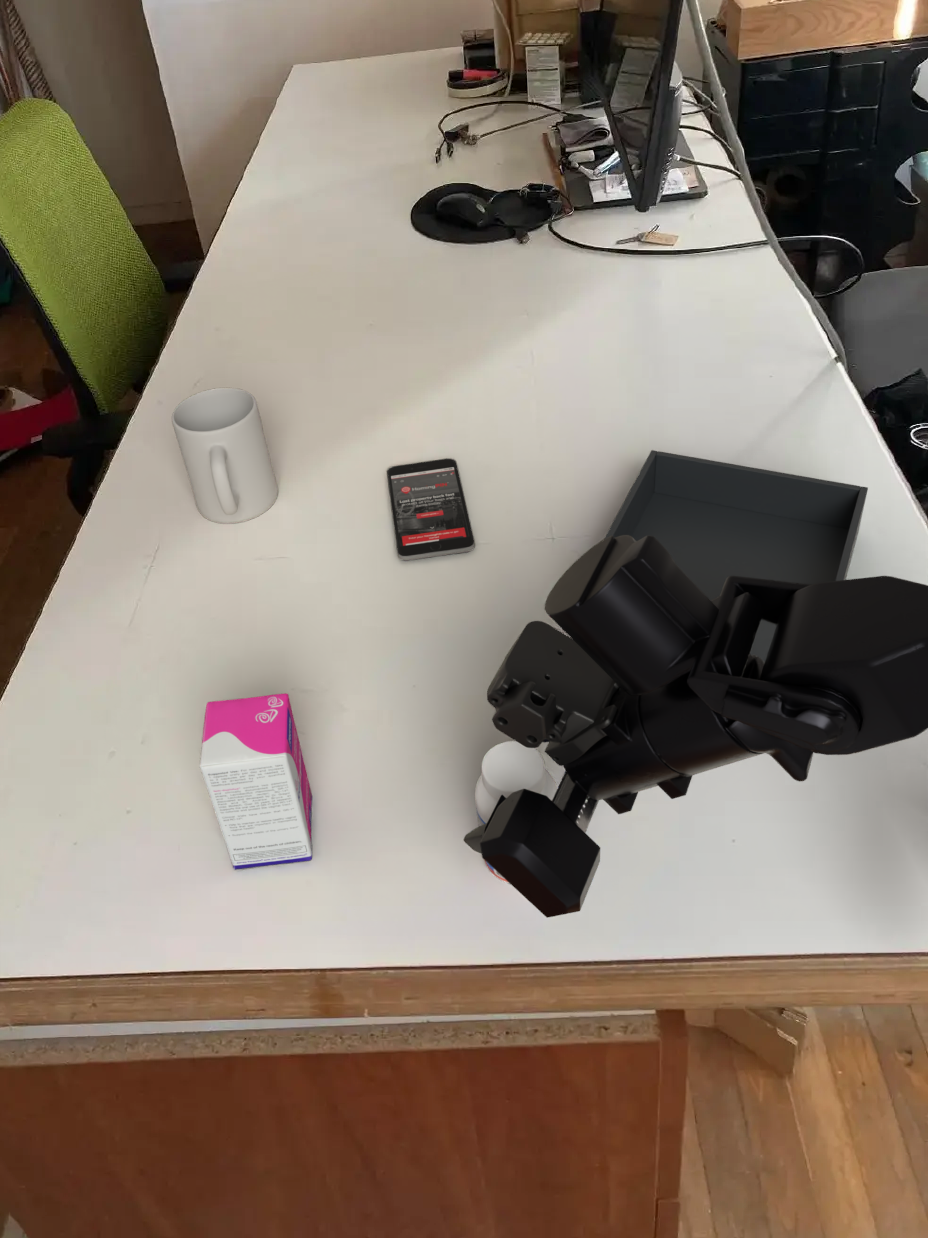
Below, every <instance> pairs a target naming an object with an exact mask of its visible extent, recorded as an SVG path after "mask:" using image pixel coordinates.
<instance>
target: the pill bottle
mask: <svg viewBox="0 0 928 1238" xmlns="http://www.w3.org/2000/svg"><path fill="white" fill-rule="evenodd" d="M481 761H482V762H481V774H480V776H479V777H478V779H477V782H476V785H475V789H474V802H475V811H476V817H477V824H478V825H477V826H478V827H480V826H482V825H484V824H486V823H487V822H488V820H489V818H490V816H491V814H492V812H493V810H494V808H495V806H496V804H497V802H498V800H499V798H500V796H501V795H503V796H504V797H506V798H507V797H508V796H509V795H510V794H511V793H513V792H516V791H519V790H521V789H527V790H530V791H533V792H536V793H539V794H543V795H546V796H547V797H548V798H549V799H550V800H551V801H552V799H553V797H554V795H555V793H556V791H557V788H558V786H557V783H556V780H555V779H554V777H553V775H552V774H551V773H550V771H549V770H548V769H547V768H546V765H545V760H544V758H543V754H542V753H541V752H540V751H539V750H538V749H537V748H527V747H525V746H523V745H522V744H520V743H518V742H517V741H515V740H507V741H504V742H500V743H498V744H496V745H494V746H492V747H491V748H490V749H488V751H487V752H486V753H485V755H484V757H483V758H482V760H481ZM483 862H484V863H485V866H486V868H487V869H488V871H489V872H490V873H491V874H492V875H493V876H494V877H495V878H496V879H498V880H499V881H502V882H503V883H506V884H509V885H511V884H510V883H509V882H508V881H507V880H506V879H505V878H504V877H502V876H501V875H500V874H499V873H498V872H497V871H496V870H495V869H494V868H493V867H492V866H491V865H490V864H488V863H487V862H486V861H485V860H484V859H483Z"/></svg>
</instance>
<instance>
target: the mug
mask: <svg viewBox="0 0 928 1238" xmlns="http://www.w3.org/2000/svg"><path fill="white" fill-rule="evenodd" d="M171 424H172V427H173V431H174V435H175V438H176V441H177V445H178V448H179V451H180V455H181V457H182V460H183V464H184V467H185V470H186V474H187V477H188V480H189V484H190V487H191V490H192V495H193V499H194V502H195V505H196V508H197V510H198V512H199V514H200V515H201V516H202V517H203V518H204V519H207V520H208V521H210V522H212V523H217V524H223V525H225V524H226V525H230V524H233V525H234V524H239V523H244V522H247V521H250V520H253V519H255V518H258V517H260V516H262V515H263V514H264V513H266V512H267V511H268V510H270V509H271V508H272V507H273V506H274V504H275V502H276V500H277V499H278V494H279V487H278V483H277V479H276V475H275V471H274V467H273V464H272V460H271V456H270V452H269V447H268V443H267V439H266V435H265V431H264V427H263V422H262V418H261V413H260V409H259V406H258V402H257V399H256V397H255V396H254V395H253V394H252V393H251V392H249V391H247V390H245V389H243V388H242V389H241V388H238V387H215V388H209V389H206V390H202V391H200V392H196V393H194V394H192V395H190V396H187V398H185V399H183V400H182V401H181V402H180V403H178V404H177V406H176V407H175V408H174V410H173V411H172V413H171Z"/></svg>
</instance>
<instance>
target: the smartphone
mask: <svg viewBox="0 0 928 1238" xmlns="http://www.w3.org/2000/svg"><path fill="white" fill-rule="evenodd" d="M386 477H387V483H388V491H389V497H390V498H389V500H390V507H391V515H392V522H393V523H392V524H393V529H394V530H393V531H394V537H395V545H396V552H397V553H396V554H397V557H398V559H400V560H401V561H415V560H421V559H428V558H434V557H443V556H448V555H453V554H454V555H455V554H463V553H469V552H471V551H473V550H474V549H475V547H476V543H475V539H474V537H475V536H474V533H473V529H472V524H471V520H470V515H469V510H468V507H467V502H466V498H465V493H464V489H463V485H462V481H461V476H460V471H459V467H458V463H457V460H456V459H454V458H452V457H446V458H439V459H433V460H426V461H419V462H413V463H405V464H399V465H398V464H397V465H391V466H389V467H388V468H387V469H386Z"/></svg>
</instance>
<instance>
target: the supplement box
mask: <svg viewBox="0 0 928 1238" xmlns="http://www.w3.org/2000/svg"><path fill="white" fill-rule="evenodd" d="M295 722H296V721H295V718H294V713H293V709H292V704H291V701H290V696H289V693H288V692H287V693H286V692H285V693H275V694H267V695H260V696H253V697H252V696H251V697H246V698H245V697H243V698H235V699H223V700H214V701H207V702H206V706H205V712H204V719H203V728H202V737H201V746H200V757H199V770H200V773H201V775H202V778H203V780H204V784H205V787H206V789H207V792H208V796H209V798H210V802H211V805H212V808H213V811H214V813H215V816H216V819H217V823H218V825H219V826H218V827H219V829H220V831H221V834H222V837H223V840H224V843H225V846H226V849H227V852H228V855H229V858H230V861H231V865H232V869H233V870H234V871H238V870H239V871H240V870H248V869H254V868H255V869H256V868H263V867H271V866H279V865H288V864H295V863H296V864H297V863H304V862H310V861H312V859H313V845H312V815H313V813H312V811H313V810H312V809H313V795H312V794H313V793H312V789H311V786H310V785H311V784H310V781H309V776H308V772H307V768H306V763H305V759H304V756H303V750H302V747H301V742H300V739H299V734H298V730H297V726H296V723H295Z"/></svg>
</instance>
